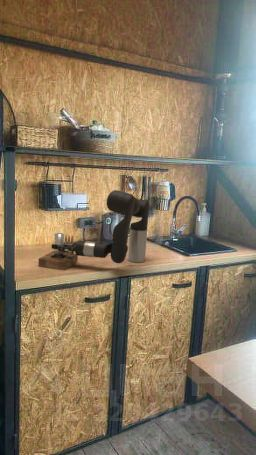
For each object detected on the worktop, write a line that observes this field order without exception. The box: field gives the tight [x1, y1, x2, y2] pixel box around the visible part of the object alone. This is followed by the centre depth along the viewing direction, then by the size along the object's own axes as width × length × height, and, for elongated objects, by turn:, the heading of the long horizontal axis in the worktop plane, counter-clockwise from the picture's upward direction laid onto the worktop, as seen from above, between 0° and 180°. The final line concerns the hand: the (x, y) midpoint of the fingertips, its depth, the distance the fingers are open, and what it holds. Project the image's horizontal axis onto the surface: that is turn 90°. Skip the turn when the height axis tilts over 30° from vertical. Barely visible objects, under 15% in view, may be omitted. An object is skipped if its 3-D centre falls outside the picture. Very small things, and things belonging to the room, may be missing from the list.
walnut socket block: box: [38, 250, 79, 271], centre depth 185 cm, size 16×14×4 cm
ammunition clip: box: [64, 234, 75, 254], centre depth 198 cm, size 11×2×12 cm, turn 116°
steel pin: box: [53, 232, 65, 259], centre depth 183 cm, size 5×5×14 cm
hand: (54, 245), depth 184 cm, fingers closed on steel pin, 4 cm apart
